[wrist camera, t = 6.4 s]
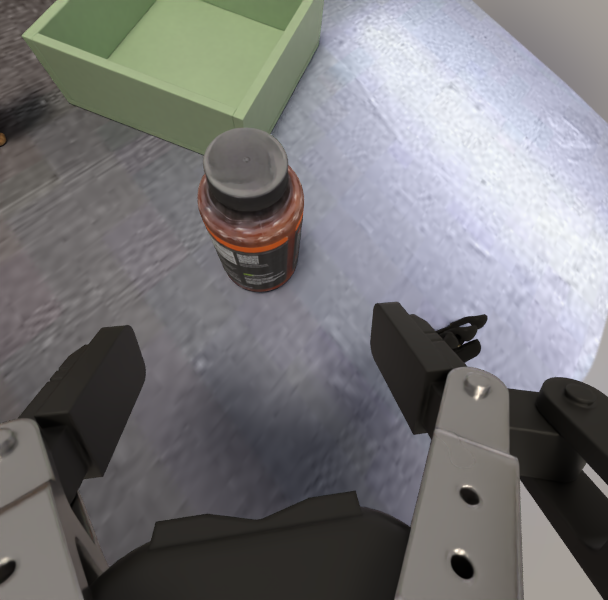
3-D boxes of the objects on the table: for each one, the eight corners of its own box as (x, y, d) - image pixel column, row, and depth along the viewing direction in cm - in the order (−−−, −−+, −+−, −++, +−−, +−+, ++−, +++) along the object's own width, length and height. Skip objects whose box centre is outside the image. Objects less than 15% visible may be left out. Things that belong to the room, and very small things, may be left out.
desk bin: (68, 103, 28) (20, 35, 23) (165, -12, 34) (144, -89, 28) (249, 172, 28) (242, 119, 22) (319, 44, 33) (327, -23, 28)
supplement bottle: (278, 216, 27) (279, 95, 16) (309, 276, 25) (333, 188, 15) (211, 242, 26) (163, 129, 15) (240, 306, 24) (210, 234, 13)
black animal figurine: (457, 319, 25) (499, 301, 21) (474, 347, 25) (521, 336, 20) (383, 356, 24) (409, 347, 19) (399, 387, 23) (431, 385, 19)
